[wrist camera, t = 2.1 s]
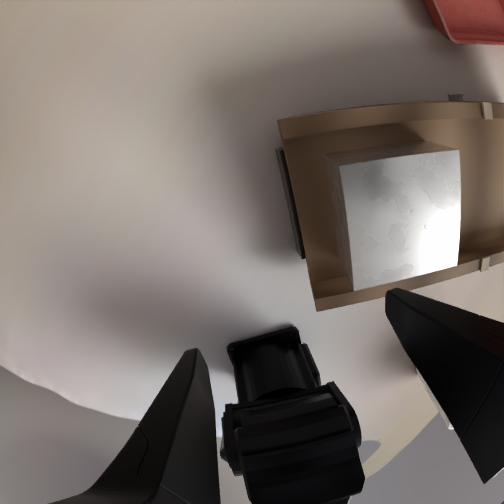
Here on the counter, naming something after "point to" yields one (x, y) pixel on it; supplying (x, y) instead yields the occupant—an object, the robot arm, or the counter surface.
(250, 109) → the counter surface
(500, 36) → the plant saucer
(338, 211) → the steel block
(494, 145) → the wooden tray
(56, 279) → the counter surface
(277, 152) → the stand
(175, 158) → the counter surface
